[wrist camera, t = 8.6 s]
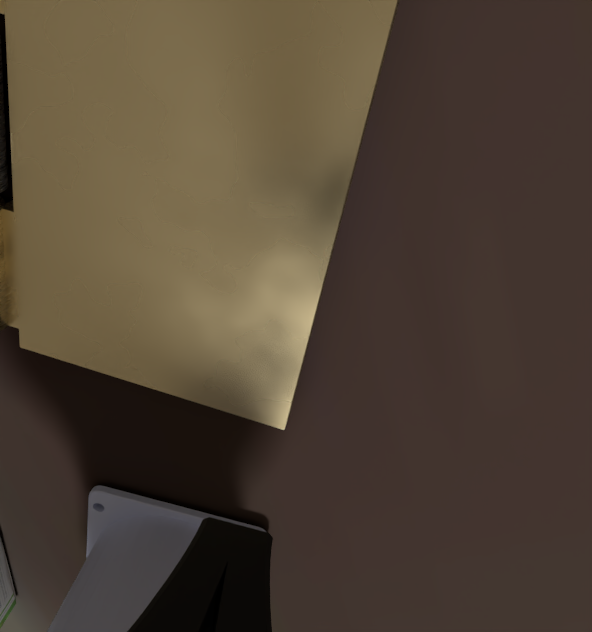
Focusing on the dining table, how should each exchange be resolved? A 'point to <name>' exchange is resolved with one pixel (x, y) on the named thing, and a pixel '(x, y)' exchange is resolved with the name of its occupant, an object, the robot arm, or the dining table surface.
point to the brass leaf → (182, 185)
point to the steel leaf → (2, 134)
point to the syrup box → (5, 588)
